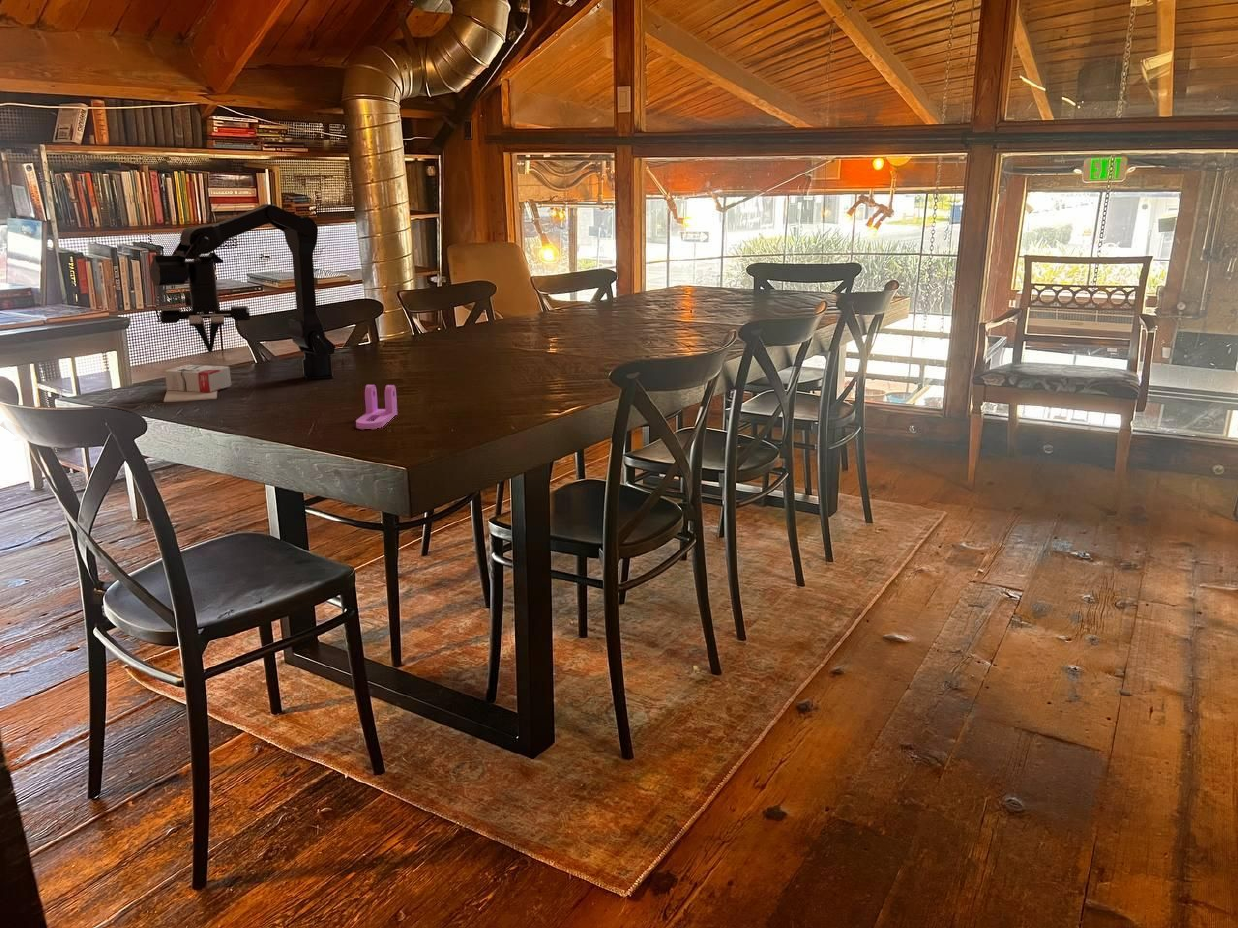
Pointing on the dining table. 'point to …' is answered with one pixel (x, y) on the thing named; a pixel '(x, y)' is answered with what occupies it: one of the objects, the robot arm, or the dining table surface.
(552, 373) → the dining table surface
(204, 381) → the ink box
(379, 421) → the bracket
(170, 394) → the mat
